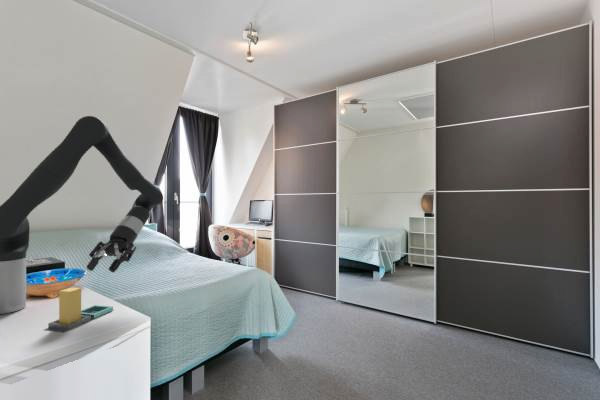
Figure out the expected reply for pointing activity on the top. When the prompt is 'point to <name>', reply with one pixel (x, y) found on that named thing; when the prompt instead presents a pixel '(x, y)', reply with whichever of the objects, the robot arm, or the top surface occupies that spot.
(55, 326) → the base
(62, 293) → the peg
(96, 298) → the top surface
